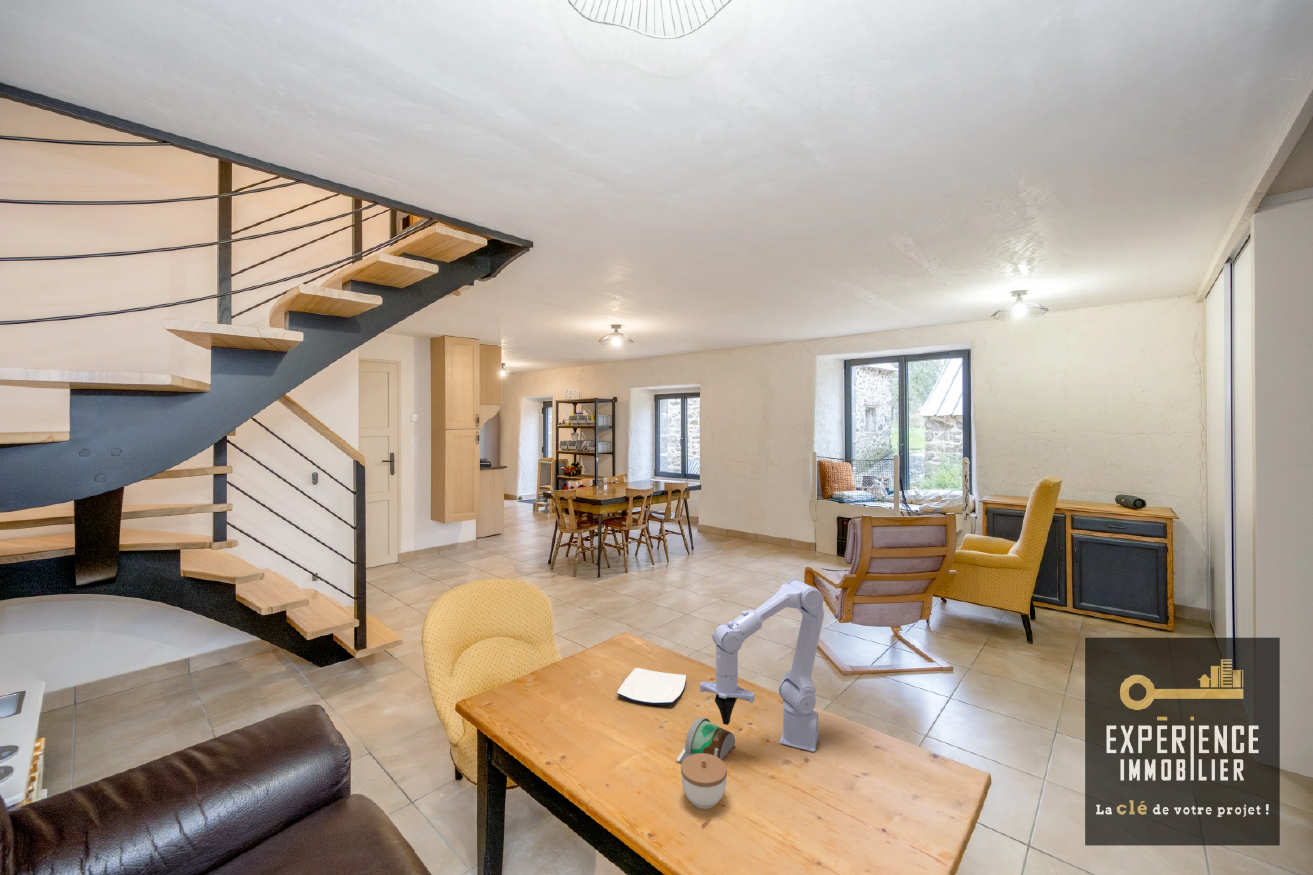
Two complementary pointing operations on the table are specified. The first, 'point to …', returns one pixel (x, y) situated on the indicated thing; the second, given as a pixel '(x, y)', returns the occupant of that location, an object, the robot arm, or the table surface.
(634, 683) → the plate
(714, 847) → the table surface
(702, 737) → the food container
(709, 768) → the lidded jar
